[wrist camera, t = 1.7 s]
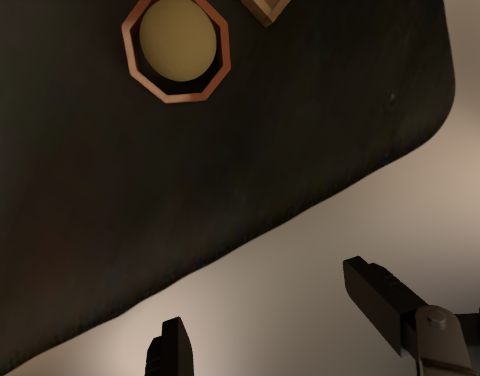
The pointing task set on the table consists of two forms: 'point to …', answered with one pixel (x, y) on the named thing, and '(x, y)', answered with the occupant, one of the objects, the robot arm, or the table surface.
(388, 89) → the table surface
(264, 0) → the tray
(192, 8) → the light bulb
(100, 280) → the table surface
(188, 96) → the orange octagonal ring
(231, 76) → the table surface
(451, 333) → the robot arm
